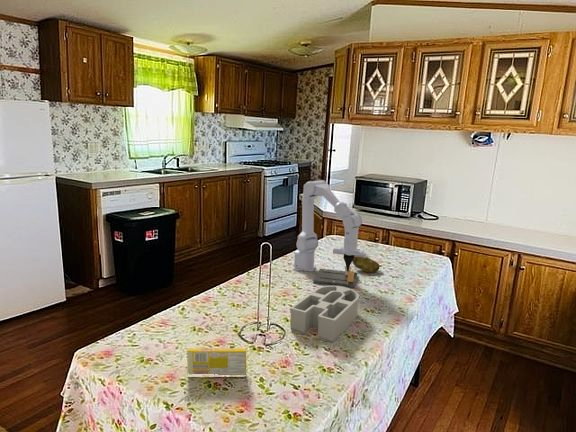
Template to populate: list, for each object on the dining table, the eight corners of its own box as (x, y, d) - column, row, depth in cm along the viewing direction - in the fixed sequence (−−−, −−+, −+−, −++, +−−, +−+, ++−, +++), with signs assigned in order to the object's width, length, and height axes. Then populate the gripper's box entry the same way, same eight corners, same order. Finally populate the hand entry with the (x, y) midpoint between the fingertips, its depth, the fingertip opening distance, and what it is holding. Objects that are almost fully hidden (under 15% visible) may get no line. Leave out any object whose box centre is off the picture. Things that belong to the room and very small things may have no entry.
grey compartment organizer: (289, 331, 143) (289, 308, 141) (324, 302, 166) (325, 282, 164) (333, 345, 134) (334, 320, 133) (364, 313, 158) (365, 291, 156)
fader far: (344, 275, 191) (345, 265, 190) (345, 272, 195) (346, 263, 194) (350, 275, 191) (350, 266, 190) (351, 272, 194) (351, 263, 193)
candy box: (246, 374, 118) (246, 347, 116) (246, 378, 115) (246, 351, 114) (188, 374, 117) (188, 347, 115) (187, 378, 115) (186, 351, 113)
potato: (375, 276, 196) (376, 259, 195) (349, 270, 202) (350, 255, 201) (380, 270, 203) (381, 255, 202) (355, 266, 209) (356, 250, 208)
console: (313, 283, 185) (313, 279, 185) (319, 271, 200) (319, 268, 200) (353, 288, 181) (353, 284, 181) (357, 275, 196) (357, 272, 196)
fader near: (347, 281, 183) (348, 271, 182) (348, 278, 187) (348, 269, 186) (352, 282, 183) (353, 272, 182) (353, 279, 186) (354, 269, 185)
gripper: (332, 241, 179) (330, 271, 182) (366, 246, 176) (363, 276, 179) (335, 237, 186) (332, 266, 189) (367, 241, 182) (364, 270, 186)
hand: (347, 270), depth 184 cm, fingers closed, pressing on fader near
